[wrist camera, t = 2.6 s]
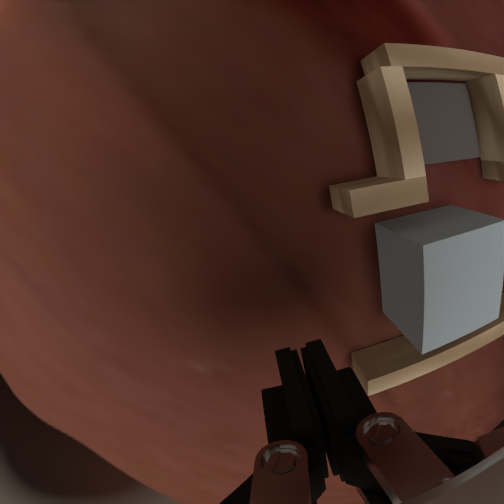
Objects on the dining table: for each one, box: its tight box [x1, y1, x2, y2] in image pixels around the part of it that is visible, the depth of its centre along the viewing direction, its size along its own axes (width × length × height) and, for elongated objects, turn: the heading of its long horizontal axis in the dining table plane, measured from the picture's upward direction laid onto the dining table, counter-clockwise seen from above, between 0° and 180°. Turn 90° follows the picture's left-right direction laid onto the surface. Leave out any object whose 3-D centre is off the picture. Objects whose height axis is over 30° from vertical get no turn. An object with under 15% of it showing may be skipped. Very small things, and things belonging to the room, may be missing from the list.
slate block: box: [374, 205, 504, 354], centre depth 14 cm, size 6×6×5 cm
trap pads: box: [407, 82, 480, 165], centre depth 14 cm, size 5×18×1 cm, turn 103°
